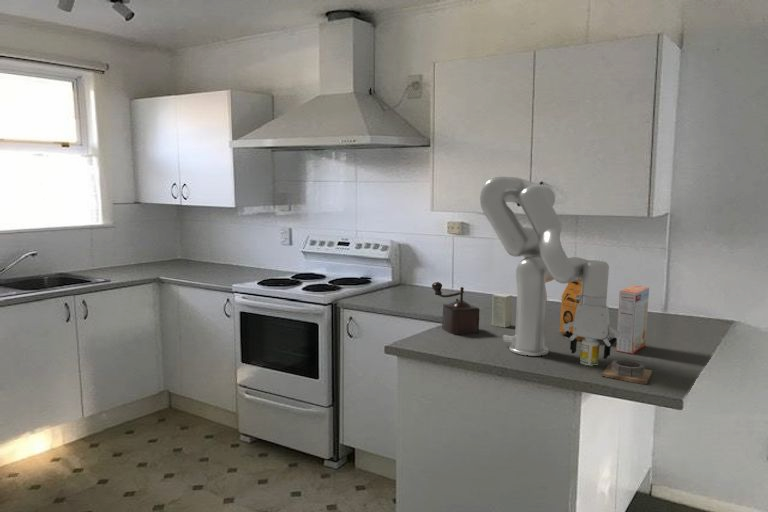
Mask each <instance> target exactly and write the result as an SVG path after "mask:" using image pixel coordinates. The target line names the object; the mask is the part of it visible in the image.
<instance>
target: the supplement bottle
mask: <svg viewBox="0 0 768 512" xmlns="http://www.w3.org/2000/svg"><path fill="white" fill-rule="evenodd" d="M584 338H585V337H584ZM580 342H581V343H580V344H581V345H580V355H579V357H580V358H579V363H580V364H581V363H582V364H585V365H584V366H586V365H597V366H598V365H599V355H600V345H601V343H600V341H599V340H598V339H591V338H585V339H583V340H582V341H580ZM582 364H581V365H582Z"/></svg>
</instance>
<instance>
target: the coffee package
mask: <svg viewBox="0 0 768 512" xmlns="http://www.w3.org/2000/svg"><path fill="white" fill-rule="evenodd" d="M581 288H582V280H580V281H574V282H570V283H567V285H566V287H565V288H564V291H563V293H562V295H561V305H560V319H559V320H560V322H559V333H560V334H563V335H566V334H565V331H564V329H563V325H564V324H567V323H570V322H573V321H574V318H575V313H576V308H577V305H578V304H579V303H580V300H577V299H576V295H580V294H581ZM569 330H570V332H571V333H572V334H573V326H571V327H569ZM566 336H567V335H566ZM583 339H585V338H584V337H579V336H577V337H576V340H577V342H578V341H579V342H582V340H583Z"/></svg>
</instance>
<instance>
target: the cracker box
mask: <svg viewBox="0 0 768 512" xmlns="http://www.w3.org/2000/svg"><path fill="white" fill-rule="evenodd" d="M618 297H619V298H618V313H617V329H616V330H618V331H619V332H621V335H620V337H619V338H618V339H617V341H616V346H615V351H616V352H620V353H624V354H625V353H626V354H630V355H631V354H632V355H633V354H634V353H637V352H638V351H639V350H642V349H643V348H644V347H645V346H646V338H647V323H648V322H647V321H648V313H649V312H648V310H649V307H648V306H649V297H650V287H648V286H641V285H631V286H628V287H627V288H624V289H621V290H619V295H618Z"/></svg>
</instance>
